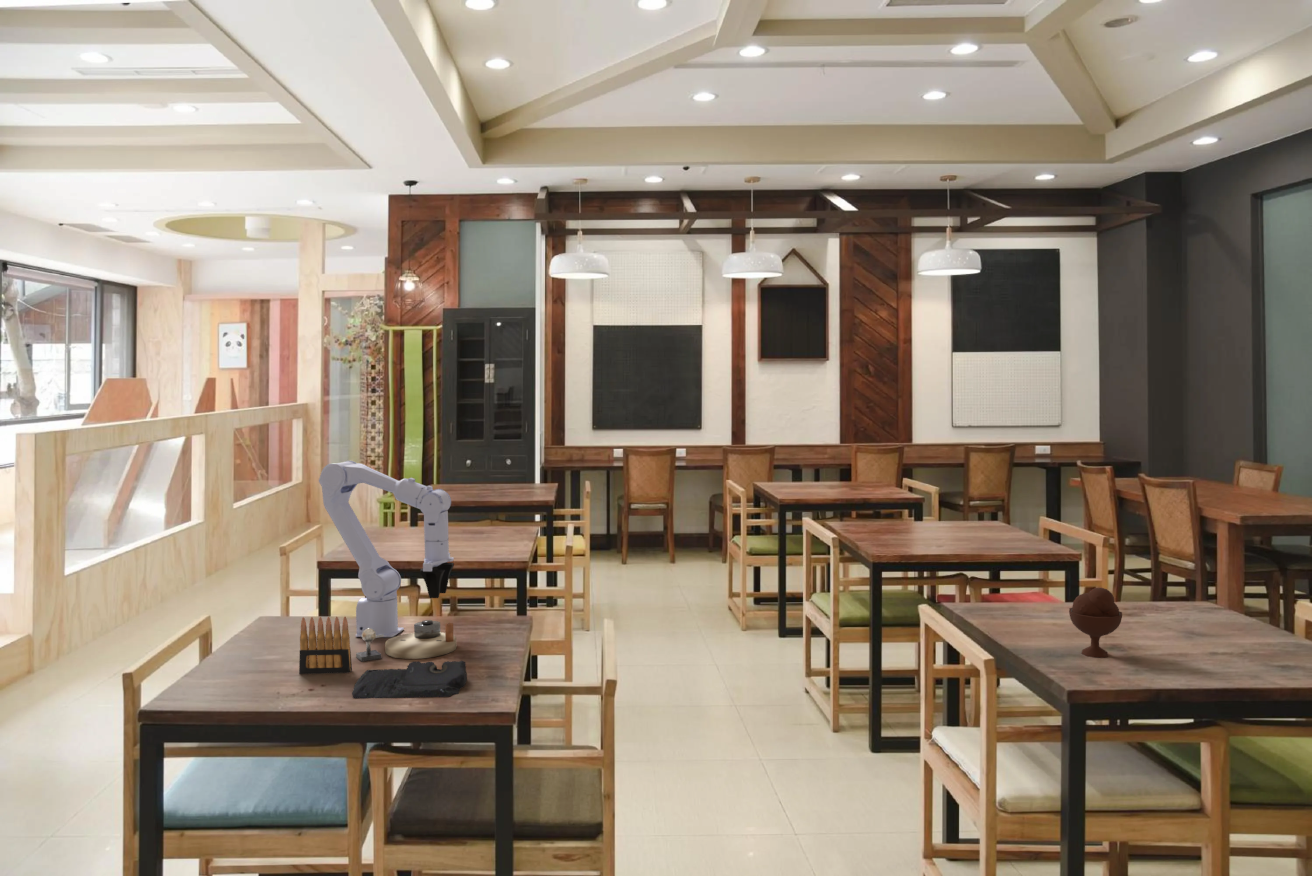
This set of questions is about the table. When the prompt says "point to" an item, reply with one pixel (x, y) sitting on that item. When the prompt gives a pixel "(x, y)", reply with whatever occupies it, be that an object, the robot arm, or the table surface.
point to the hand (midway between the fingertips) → (437, 595)
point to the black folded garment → (412, 681)
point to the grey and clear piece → (369, 646)
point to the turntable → (421, 645)
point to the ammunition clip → (324, 648)
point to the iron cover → (427, 629)
